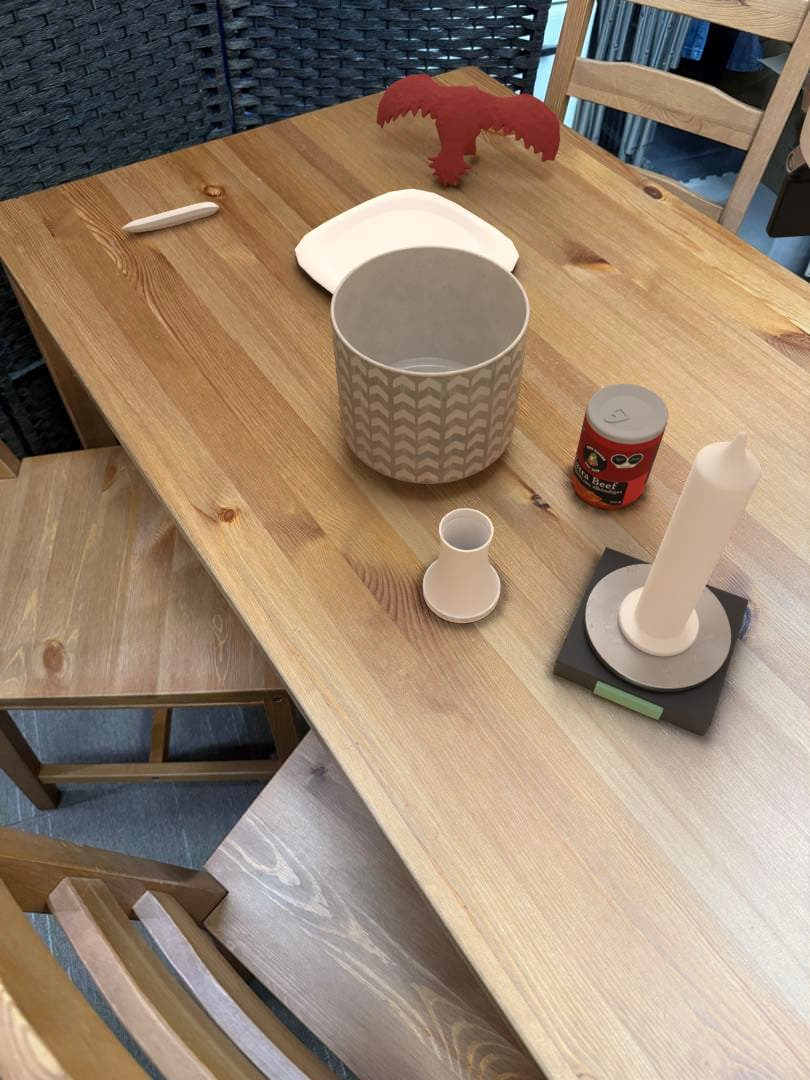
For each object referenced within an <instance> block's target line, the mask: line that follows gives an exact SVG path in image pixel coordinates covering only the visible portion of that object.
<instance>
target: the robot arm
mask: <svg viewBox="0 0 810 1080" xmlns="http://www.w3.org/2000/svg"><path fill="white" fill-rule="evenodd" d="M801 101H802V102H801V108H800V111H802V112H800V113H799V114H798V116H797V118H796V121H794V126H793V128H794V130H795V132H794V133H795V134H794V135H795V136H794V149H792V150H791V151H790V152H789V153H788V155H787V157H786V162H785V168H786V171H787V173H789V175H787V174H785V176H784V179H783V181H782V184H781V187H780V189H779V192H778V194H777V197H776V200H775V203H774V206H773V209H772V211H771V213H770V217H769V219H768V222H767V225H766V227H765V232H766V234H767V236H768V237H769V238H771V239H781V238H782V239H783V238H796V237H810V72H809V73H808V74H807V76H806V77H805V80H804V87H803V93H802V100H801Z"/></svg>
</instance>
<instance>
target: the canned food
mask: <svg viewBox="0 0 810 1080" xmlns="http://www.w3.org/2000/svg"><path fill="white" fill-rule="evenodd" d="M668 420H669V409H668V406H667V403H666V402H665V401H664V399H663V398H662V397H661V396H659V395H658V393H656V392H655V391H653V390H652V389H649V388H647V387H645V386H642V385H639V384H634V383H614V384H610V385H606V386H604V387H602V388H600V389H598V390H597V391H595V392H594V394H593V395H591V397H590V399H589V401H588V403H587V405H586V409H585V412H584V416H583V421H582V424H581V425H582V426H581V430H580V434H579V439H578V444H577V449H576V453H575V458H574V462H573V466H572V472H571V480H572V485H573V489H574V490H575V492H576V494H577V495H578V496H579V497H580V499H581V500H583V501H585V502H586V503H588V504H590V505H592V506H594V507H597V508H601V509H613V510H615V509H619V508H624V507H627V506H629V505H631V504H633V503H634V502H636V500H637V499H638V498H639V497H640V496H641V495H642V494H643V493H644V491H645V489H646V486H647V483H648V480H649V477H650V475H651V473H652V469H653V466H654V463H655V461H656V457H657V455H658V453H659V450H660V446H661V444H662V440H663V437H664V434H665V432H666V428H667V425H668Z"/></svg>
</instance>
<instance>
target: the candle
mask: <svg viewBox="0 0 810 1080" xmlns="http://www.w3.org/2000/svg"><path fill="white" fill-rule="evenodd" d="M747 437H748V434H747V432H746V431H744V430H741V431H739V432H738V433H737V434H736V435H735V437H733V439H732V440H731V441H730V442H729V441H717V442H713V443H709V444H708V445H706V446H704V447H702V448H701V449H700V451H698V453H697V454H696V457H695V459H694V461H693V463H692V466H691V468H690V471H689V474H688V476H687V479H686V481H685V484H684V486H683V489H682V491H681V493H680V496H679V498H678V501H677V504H676V507H675V509H674V511H673V513H672V516H671V518H670V521H669V523H668V526H667V528H666V531H665V534H664V535H663V538H662V541H661V543H660V545H659V549H658V551H657V554H656V556H655V558H654V561H653V563H652V564H653V566H652V568H651V571H650V573H649V576H648V578H647V581H646V583H645V586H644V587H641V588H638V589H636V590H634V591H632V592H631V593H630V594H628V595H627V596H626V597H625V599H624V600H623V602H622V604H621V606H620V609H619V616H618V618H619V625H620V628H621V630H622V632H623V634H624V636H625V637H626V638H627V640H628V641H629V642H630V643H631V644H633V645H634V646H635V647H636V648H638V649H640V650H641V651H643V652H646V653H648V654H651V655H655V656H673V655H677V654H680V653H682V652H684V651H685V650H687V649H688V648H689V647H690V646H691V645H692V644H693V643H694V641H695V639H696V637H697V635H698V632H699V619H698V616H697V613H696V611H695V609H694V608H695V606H696V604H697V602H698V600H699V598H700V596H701V594H702V592H703V590H704V588H705V586H706V584H707V585H708V582H709V580H710V578H711V576H712V574H713V572H714V570H715V568H716V566H717V564H718V562H719V561H720V559H721V556H722V554H723V552H724V550H725V548H726V546H727V545H728V543H729V541H730V538H732V535H733V533H734V532H735V529H736V527H737V525H738V523H739V521H740V519H741V517H742V515H743V513H744V511H745V509H746V507H747V505H748V503H749V501H750V500H751V498H752V495H753V493H754V491H755V489H756V487H757V486H758V484H759V482H760V479H761V476H762V466H761V464H760V461H759V460H758V458H757V457H756V456H755V455H754V454H753V452H751V451H750V450H749V449H748V448H746V445H747Z"/></svg>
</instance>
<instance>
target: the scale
mask: <svg viewBox="0 0 810 1080" xmlns="http://www.w3.org/2000/svg"><path fill="white" fill-rule="evenodd" d="M652 566H653V563H650V562H647V561H645V560H642V559H639V558H637V557H634V556H632V555H629V554H627V553H623V552H621V551H619V550H616V549H613V548H611V547H606V546H605V548H604V550H603V553H602V554H601V557H600V559H599V562H598V564H597V566H596V568H595V570H594V573H593V575H592V577H591V579H590V582H589V584H588V586H587V589H586V591H585V593H584V596H583V598H582V600H581V602H580V605H579V607H578V610H577V612H576V613H575V616H574V619H573V621H572V623H571V626H570V628H569V630H568V633H567V635H566V637H565V639H564V641H563V644H562V647H561V648H560V651H559V653H558V654H557V657H556V660H555V663H554V667H553V669H552V673H553V674H555V675H557V676H559V677H562V678H564V679H566V680H569V681H570V682H574V683H576V684H578V685H580V686H583V687H585V688H588V689H590V690H591V691H593V694H595V695H597V696H599V697H601V698H604V699H606V700H609V701H611V702H614V703H616V704H618V705H621V706H623V707H625V708H627V709H630V710H633V711H634V712H637V713H639V714H642V715H644V716H646V717H649V718H651V719H654V720H657V721H659V720H660V719H662V720H664V721H666V722H669V723H671V724H674V725H676V726H678V727H680V728H683V729H685V730H687V731H690V732H692V733H695V734H697V735H700V736H703V737H704V735H705V734H706V732H707V731H708V730H709V728H710V727H711V725H712V722H713V719H714V716H715V712H716V708H717V706H718V702H719V699H720V696H721V693H722V690H723V686H724V683H725V679H726V676H727V673H728V670H729V667H730V663H731V660H732V656H733V653H734V649H735V646H736V643H737V640H738V636H739V633H740V630H741V627H742V624H743V620H744V617H745V614H746V610H747V607H748V604H749V599H747V598H744V597H742V596H739V595H737V594H734V593H731V592H729V591H726V590H723V589H720V588H718V587H716V586H712V585H710V584H708V583H707V584H706V586H705V588H704V590H703V592H702V594H701V596H700V598H699V600H698V602H697V604H696V606H695V608H694V609H695V611H696V613H697V616H698V619H699V632H698V635H697V637H696V639H695V641H694V643H693V644H692V645H691V646H690V647H689V648H688V649H687V650H685V651H684V652H682V653H680V654H677V655H673V656H655V655H651V654H648V653H646V652H643V651H641V650H640V649H638V648H636V647H635V646H634V645H633V644H631V643H630V642H629V641H628V640H627V638H626V637H625V636H624V634H623V632H622V630H621V628H620V625H619V618H618V616H619V609H620V606H621V604H622V602H623V600H624V599H625V597H626V596H627V595H628V594H630V593H631V592H632V591H634V590H636V589H638V588H641V587H644V586H645V583H646V581H647V578H648V576H649V573H650V571H651V568H652Z"/></svg>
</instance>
